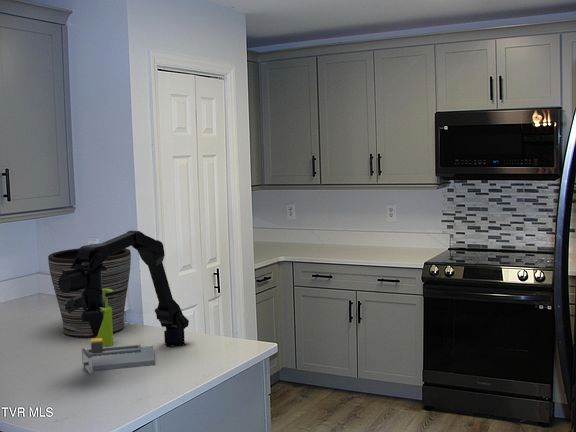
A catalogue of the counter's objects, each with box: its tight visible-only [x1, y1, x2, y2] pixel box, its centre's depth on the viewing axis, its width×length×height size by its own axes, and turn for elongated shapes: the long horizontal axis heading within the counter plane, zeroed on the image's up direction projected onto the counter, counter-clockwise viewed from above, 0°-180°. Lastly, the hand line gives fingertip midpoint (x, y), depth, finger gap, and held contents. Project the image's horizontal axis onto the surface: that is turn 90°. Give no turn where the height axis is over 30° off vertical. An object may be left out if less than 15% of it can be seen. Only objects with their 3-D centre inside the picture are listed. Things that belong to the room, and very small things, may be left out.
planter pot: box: [47, 247, 132, 339], centre depth 256 cm, size 30×30×30 cm
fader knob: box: [90, 338, 104, 353], centre depth 223 cm, size 4×3×4 cm
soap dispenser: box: [96, 289, 114, 347], centre depth 237 cm, size 6×7×20 cm
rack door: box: [81, 349, 94, 374], centre depth 207 cm, size 10×2×4 cm, turn 28°
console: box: [81, 344, 156, 372], centre depth 219 cm, size 22×16×6 cm
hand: (95, 336), depth 206 cm, fingers closed
